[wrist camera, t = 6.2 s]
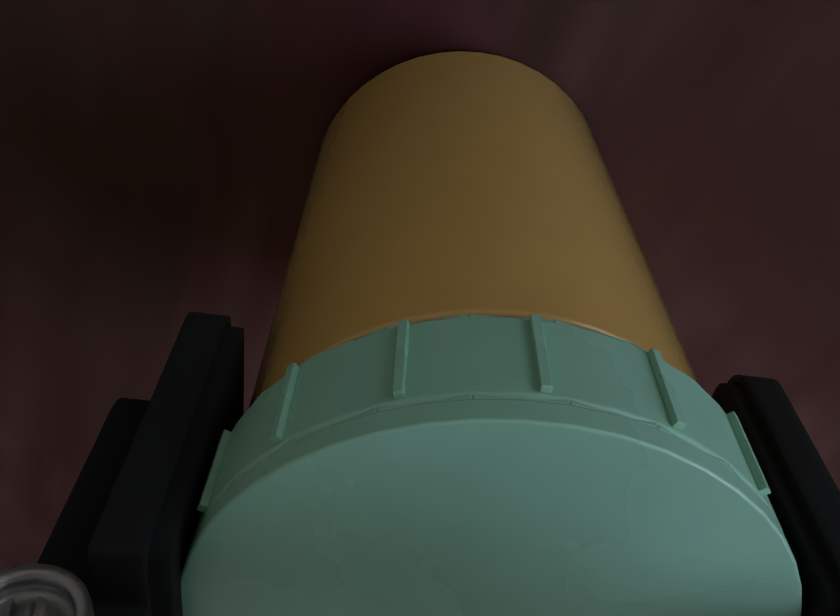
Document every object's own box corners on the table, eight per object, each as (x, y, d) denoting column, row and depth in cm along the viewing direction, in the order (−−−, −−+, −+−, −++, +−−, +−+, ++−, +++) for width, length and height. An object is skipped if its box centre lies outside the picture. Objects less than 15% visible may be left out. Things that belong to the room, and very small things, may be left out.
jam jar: (564, 319, 20) (665, 751, 11) (309, 293, 19) (215, 720, 11) (634, 70, 16) (869, 435, 7) (321, 31, 15) (192, 369, 7)
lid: (272, 231, 8) (237, 331, 6) (876, 407, 9) (955, 524, 7) (175, 618, 11) (140, 730, 10) (603, 706, 12) (621, 818, 11)
